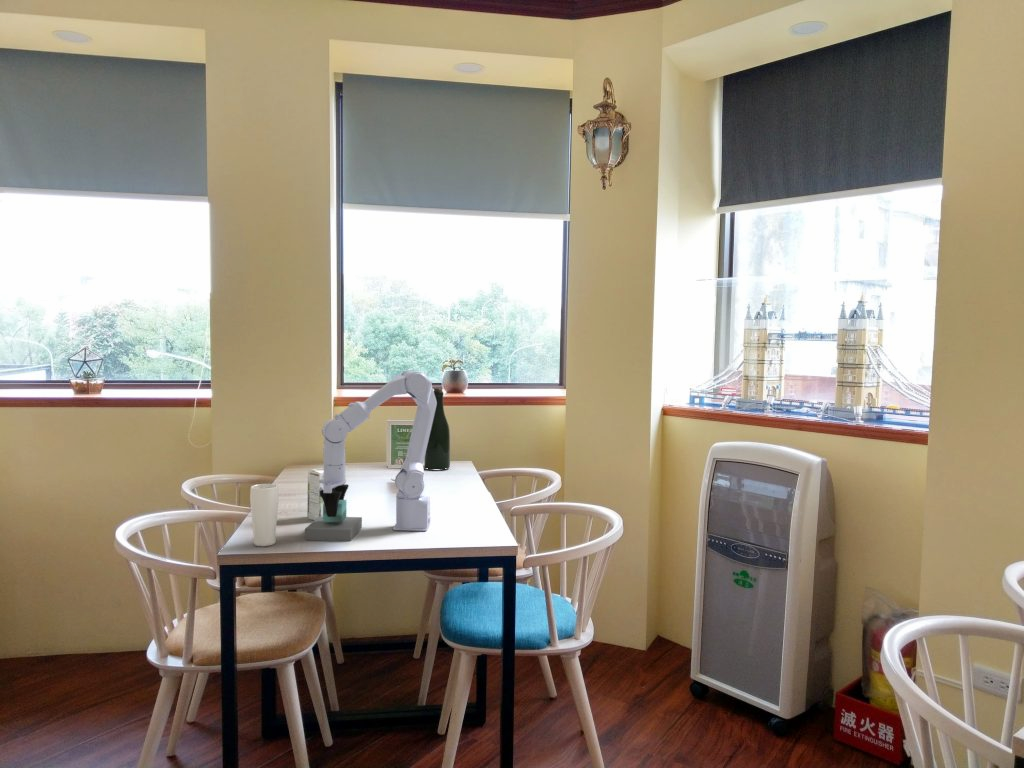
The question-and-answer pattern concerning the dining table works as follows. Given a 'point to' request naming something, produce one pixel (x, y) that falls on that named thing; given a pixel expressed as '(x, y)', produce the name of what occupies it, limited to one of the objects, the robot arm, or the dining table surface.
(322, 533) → the gray square slab
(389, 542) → the dining table surface
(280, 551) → the dining table surface
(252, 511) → the drinking glass
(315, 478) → the syrup box
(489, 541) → the dining table surface
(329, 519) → the teal cube
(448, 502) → the dining table surface
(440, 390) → the dark green bottle
